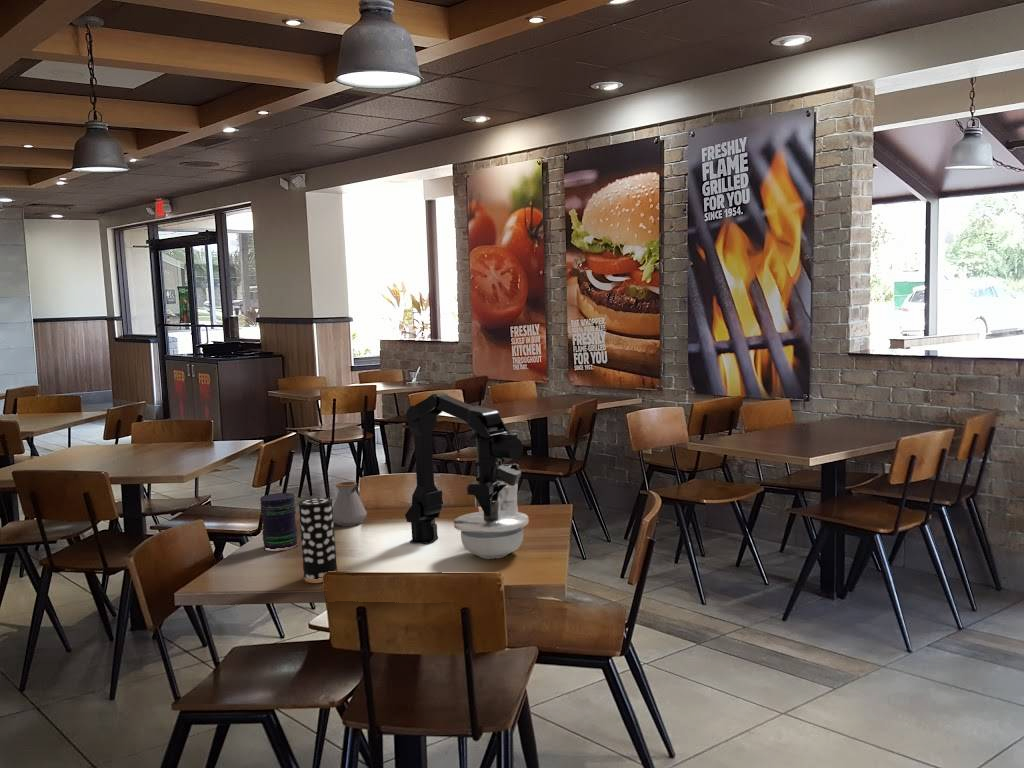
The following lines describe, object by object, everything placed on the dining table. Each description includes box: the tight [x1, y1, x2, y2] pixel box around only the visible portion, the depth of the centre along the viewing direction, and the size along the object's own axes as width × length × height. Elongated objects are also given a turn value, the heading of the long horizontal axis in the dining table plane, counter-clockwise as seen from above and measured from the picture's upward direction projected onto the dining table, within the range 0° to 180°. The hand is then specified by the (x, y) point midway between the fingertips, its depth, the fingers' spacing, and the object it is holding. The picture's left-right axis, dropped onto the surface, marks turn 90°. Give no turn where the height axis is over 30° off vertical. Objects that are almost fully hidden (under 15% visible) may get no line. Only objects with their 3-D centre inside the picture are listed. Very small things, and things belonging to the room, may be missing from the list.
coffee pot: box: [332, 481, 368, 527], centre depth 285 cm, size 21×12×15 cm, turn 23°
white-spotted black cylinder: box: [297, 497, 338, 579], centre depth 231 cm, size 8×8×20 cm
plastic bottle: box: [498, 463, 519, 512], centre depth 268 cm, size 6×7×20 cm
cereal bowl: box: [460, 527, 524, 560], centre depth 246 cm, size 17×17×7 cm
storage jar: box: [259, 492, 299, 549], centre depth 265 cm, size 10×10×15 cm
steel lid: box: [453, 499, 530, 533], centre depth 245 cm, size 20×20×6 cm
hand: (490, 514), depth 245 cm, fingers closed on steel lid, 4 cm apart
